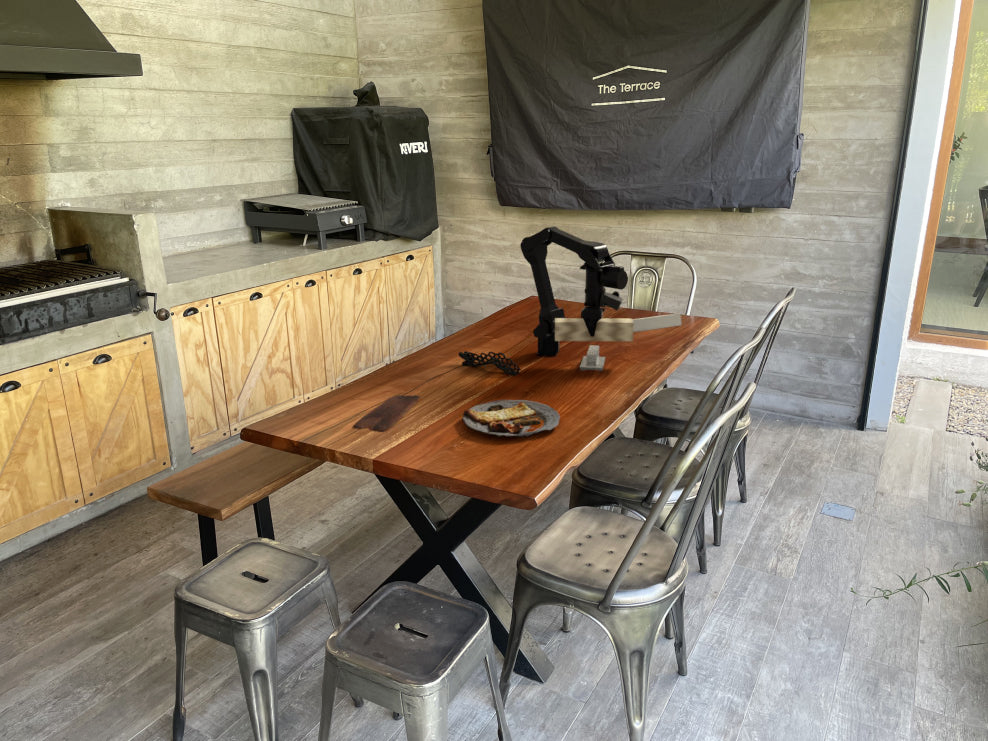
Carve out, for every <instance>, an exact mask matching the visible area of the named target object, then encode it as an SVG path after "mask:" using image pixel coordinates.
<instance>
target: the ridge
mask: <svg viewBox="0 0 988 741" xmlns="http://www.w3.org/2000/svg"><path fill="white" fill-rule="evenodd" d="M605 363H606V356H600V345H591V344H590V345H589V347H588V349H587V352H586V355H583V357H582V360H581V363H580V365H579V370H580V369H581V370H580V371H585V370H599V371H598V372H603V370H604V367H603V366H605Z"/></svg>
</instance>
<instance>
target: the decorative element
mask: <svg viewBox="0 0 988 741" xmlns="http://www.w3.org/2000/svg"><path fill="white" fill-rule="evenodd" d="M487 353H488V354H486V353H485V352H481V353H480V354H477V353H475V352H474V353H473V352H470V351H468V350H465V351H464V352H462V351H459V352H458V356H459V357H460V358H461V359H462V360H463V361H462V362H461V365H463V366H462V367H464V366H475V367H483V366H488V365H494V366H495V368H497V369H498V370H500V371H501V372H503V373H505V374H506V375H510V374H511V376H513V375H514V377H516V376H518V375H519V374H520V371H521V370H522V369H521V368H520V366H519V365H518V364H516V363H514V362H513V359H512V358H509V357H508V358H507V357H506V355H505V354H504V353H503V352H498V353H495V352H493V351H489V352H487ZM496 356H497V357H496ZM502 356H503V357H502ZM488 357H489V358H488ZM504 360H505V361H506V362H504ZM509 361H510V362H509ZM512 366H513V368H512ZM517 374H518V375H517Z"/></svg>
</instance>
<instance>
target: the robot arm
mask: <svg viewBox="0 0 988 741" xmlns="http://www.w3.org/2000/svg"><path fill="white" fill-rule="evenodd" d="M551 244H555V245H558V246H560V247H562V248H564V249H565V250H569V251H571V252H573V253H575V254H576V255H577V256H578V257H579V259H581V261H583V262H584V263H583V264H582V265H581V266H580V267H579V269H580V270H583V271H584V270H585V284H584V285H585V286H584V302H583V306H584V307H583V308H582V309H581V311H580V318H583V319H584V322H585V324H586V326H587V329H588V331H589V334H590V336H591V337H594V335H595V331H596V326H597V322H598V321H599V320H600V319H602V318H603V313H604V312H605V310H606V308H607V307H608V308H611V309H613V310H614V311H618V312H619V310H620V307H621V305H622V302H623V298H622V297H621V296H620V291H617V290H621V291H622V290H624V289H625V288H626V287H627V285H628V282H629V276H628V273H627V271H626V270H625V266H622V265H616V263H615V262H614V260H613V257H612V255H611V254H610V251H609V249H608V246H607V245H606V244H605V243H604V242H599V241H593V240H592V241H591V240H585V239H583V238H580V237H578V236H575V235H573V234H571V233H568V232H567V231H564V230H562V229H559V228H558V227H557V226H549V227H545V228H543V229H542V230H541V231H538V232H536V233H535V234H533V235H531V236H525V237H524V238H523V239H522V240H521V242H520V244H519V245H520V250H521V252H522V255H523V258H524V260H526V261H527V263H528V264H530V268H531V273H532V277H533V281H534V286H535V289H536V293H537V298H538V301H539V305H540V309H539V314H538V325H536V327H535V328H534V329H533V330H532V332H533V336H534V337H535V338H537V352H536V355H537V356H542V357H543V356H546V357H547V356H548V357H556V356H558V354H559V352H560V341H555V318H566V316H565V310H564V308H563V307H561V308H560V306H558V305H557V304H556V300H555V296H554V293H553V288H552V284H551V283H552V282H551V280H550V275H549V271H548V267H547V263H546V262H547V256H548V247H549V246H550V245H551ZM607 288H609V289H614V291H613V292H612V293H611V292H607V290H606V289H607Z"/></svg>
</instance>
